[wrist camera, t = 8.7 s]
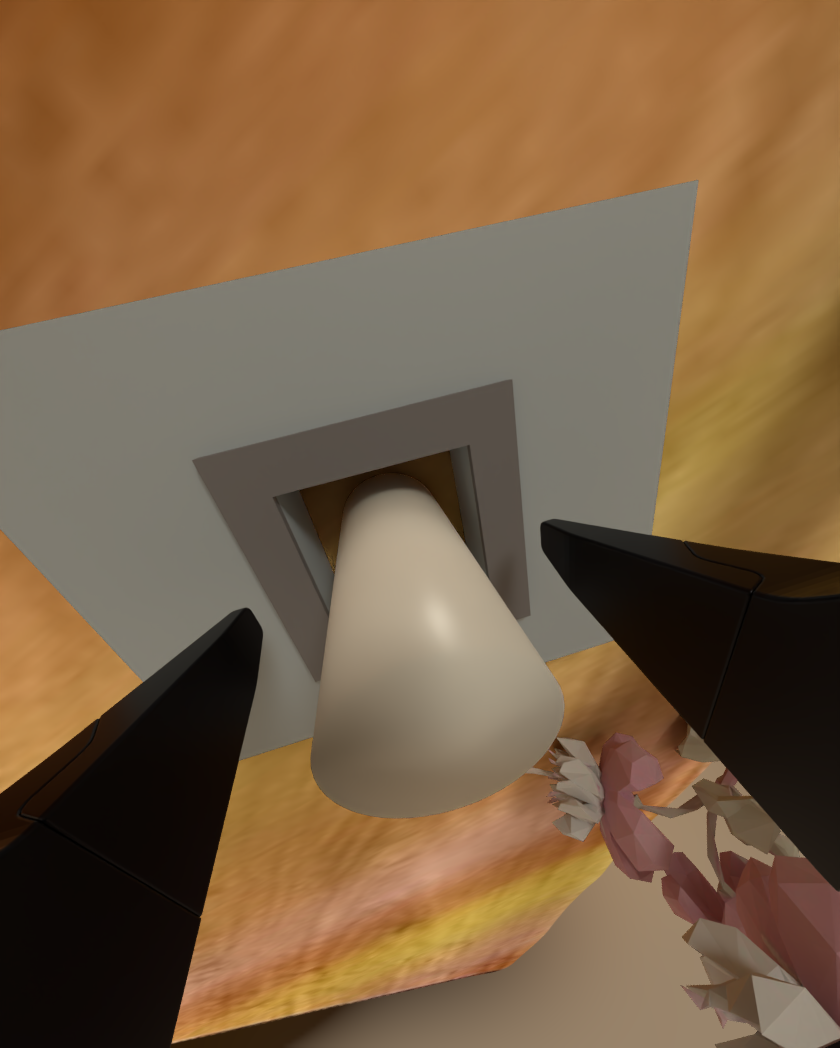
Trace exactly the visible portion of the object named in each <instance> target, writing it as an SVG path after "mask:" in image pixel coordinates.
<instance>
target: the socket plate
mask: <svg viewBox="0 0 840 1048" xmlns="http://www.w3.org/2000/svg"><path fill="white" fill-rule="evenodd" d="M697 188H698V180H696V181H691V182H686V183H682V184H677V185H672V186H668V187H663V188H658V189H654V190H649V191H645V192H640V193H635V194H631V195H626V196H621V197H617V198H612V199H607V200H603V201H598V202H594V203H589V204H584V205H580V206H575V207H570V208H566V209H561V210H557V211H552V212H547V213H543V214H538V215H533V216H529V217H524V218H519V219H515V220H510V221H506V222H501V223H496V224H492V225H487V226H482V227H478V228H473V229H468V230H464V231H459V232H455V233H450V234H445V235H441V236H436V237H431V238H427V239H422V240H417V241H413V242H408V243H404V244H399V245H394V246H390V247H385V248H380V249H376V250H371V251H366V252H362V253H357V254H353V255H348V256H343V257H339V258H334V259H329V260H325V261H320V262H316V263H311V264H306V265H302V266H297V267H292V268H288V269H283V270H278V271H274V272H269V273H265V274H260V275H255V276H251V277H246V278H241V279H237V280H232V281H227V282H223V283H218V284H214V285H209V286H204V287H200V288H195V289H190V290H186V291H181V292H176V293H172V294H167V295H163V296H158V297H153V298H149V299H144V300H139V301H135V302H130V303H125V304H121V305H116V306H112V307H107V308H102V309H98V310H93V311H88V312H84V313H79V314H75V315H70V316H65V317H61V318H56V319H51V320H47V321H42V322H37V323H33V324H28V325H24V326H19V327H14V328H10V329H5V330H0V529H1V530H2V531H3V532H4V533H5V535H6V536H7V537H8V538H9V539H10V540H11V541H12V542H13V543H14V544H15V545H16V546H17V547H18V548H19V550H20V551H21V552H22V553H23V554H24V555H25V556H26V557H27V558H28V559H29V560H30V561H31V562H32V563H33V565H34V566H35V567H36V568H37V569H38V570H39V571H40V572H41V573H42V574H43V575H44V576H45V577H46V578H47V580H48V581H49V582H50V583H51V584H52V585H53V586H54V587H55V588H56V589H57V590H58V591H59V592H60V593H61V595H62V596H63V597H64V598H65V599H66V600H67V601H68V602H69V603H70V604H71V605H72V606H73V607H74V608H75V609H76V611H77V612H78V613H79V614H80V615H81V616H82V617H83V618H84V619H85V620H86V621H87V622H88V623H89V624H90V626H91V627H92V628H93V629H94V630H95V631H96V632H97V633H98V634H99V635H100V636H101V637H102V638H103V639H104V641H105V642H106V643H107V644H108V645H109V646H110V647H111V648H112V649H113V650H114V651H115V652H116V653H117V654H118V656H119V657H120V658H121V659H122V660H123V661H124V662H125V663H126V664H127V665H128V666H129V667H130V668H131V669H132V671H133V672H134V673H135V674H136V675H137V676H138V677H139V678H140V679H141V680H142V681H143V682H144V681H145V680H147V679H148V678H149V677H150V676H152V675H153V674H154V673H155V672H157V671H158V670H159V669H160V668H162V667H163V666H164V665H165V664H167V663H168V662H169V661H170V660H172V659H173V658H174V657H175V656H177V655H178V654H179V653H180V652H182V651H183V650H184V649H186V648H187V647H188V646H189V645H191V644H192V643H193V642H194V641H196V640H197V639H198V638H199V637H201V636H202V635H203V634H204V633H206V632H207V631H208V630H209V629H211V628H212V627H213V626H214V625H216V624H217V623H218V622H219V621H221V620H222V619H223V618H224V617H226V616H227V615H228V614H229V613H231V612H232V611H234V610H238V609H241V608H245V607H247V608H249V609H251V611H252V612H253V614H254V615H255V617H256V619H257V620H258V622H259V624H260V625H261V627H262V630H263V642H262V650H261V657H260V665H259V673H258V680H257V686H256V691H255V695H254V699H253V704H252V708H251V712H250V716H249V720H248V724H247V729H246V733H245V737H244V741H243V745H242V750H241V754H240V758H239V761H240V760H243V759H246V758H249V757H252V756H255V755H258V754H261V753H265V752H268V751H271V750H274V749H277V748H280V747H283V746H286V745H289V744H293V743H296V742H299V741H302V740H305V739H308V738H311V737H313V734H314V727H315V719H316V712H317V704H318V697H319V689H320V682H321V674H322V666H323V659H324V651H325V644H326V636H327V629H328V621H329V613H330V606H331V598H332V591H333V583H334V576H335V575H334V573H333V570H332V568H331V565H330V563H329V561H328V558H327V556H326V553H325V551H324V549H323V546H322V544H321V542H320V539H319V537H318V534H317V532H316V530H315V527H314V525H313V522H312V520H311V518H310V515H309V513H308V510H307V508H306V506H305V503H304V501H303V499H302V496H301V494H300V491H299V490H301V489H305V488H309V487H312V486H316V485H320V484H324V483H328V482H331V481H335V480H339V479H343V478H346V477H350V476H354V475H358V474H361V473H365V472H369V471H373V470H377V469H380V468H384V467H388V466H392V465H395V464H399V463H403V462H407V461H410V460H414V459H418V458H422V457H425V456H429V455H433V454H437V453H441V452H444V451H448V450H450V456H451V462H452V467H453V473H454V479H455V484H456V490H457V496H458V501H459V507H460V513H461V518H462V524H463V530H464V535H465V541H466V546H467V548H468V549H469V550H470V552H471V553H472V555H473V556H474V558H475V559H476V561H477V562H478V564H479V565H480V567H481V568H482V570H483V571H484V573H485V574H486V576H487V577H488V579H489V580H490V582H491V583H492V585H493V586H494V588H495V589H496V591H497V592H498V594H499V595H500V597H501V598H502V600H503V601H504V603H505V604H506V606H507V607H508V609H509V610H510V612H511V613H512V615H513V616H514V618H515V619H516V621H517V622H518V624H519V625H520V627H521V628H522V630H523V631H524V633H525V634H526V636H527V637H528V639H529V640H530V641H531V643H532V644H533V646H534V647H535V649H536V650H537V652H538V653H539V655H540V656H541V658H542V659H543V661H544V662H548V661H551V660H554V659H557V658H560V657H564V656H567V655H570V654H573V653H576V652H579V651H582V650H585V649H588V648H592V647H595V646H598V645H601V644H604V643H607V642H610V641H613V640H614V639H613V638H612V637H611V636H610V635H609V634H608V633H607V631H606V630H605V629H604V628H603V627H602V626H601V625H600V624H599V622H598V621H597V620H596V619H595V618H594V617H593V616H592V614H591V613H590V612H589V611H588V610H587V609H586V608H585V607H584V605H583V604H582V603H581V602H580V601H579V600H578V599H577V597H576V596H575V595H574V594H573V593H572V592H571V590H570V589H569V588H568V587H567V585H566V584H565V582H564V581H563V580H562V578H561V577H560V575H559V574H558V572H557V571H556V570H555V568H554V567H553V565H552V564H551V562H550V561H549V560H548V558H547V557H546V555H545V554H544V552H543V550H542V548H541V536H540V525H541V523H542V522H543V521H547V520H550V519H560V520H566V521H572V522H578V523H583V524H589V525H595V526H601V527H607V528H613V529H618V530H624V531H630V532H636V533H642V534H647V535H652V528H653V520H654V513H655V505H656V498H657V490H658V483H659V475H660V467H661V460H662V452H663V445H664V437H665V430H666V422H667V415H668V407H669V399H670V392H671V384H672V377H673V369H674V362H675V354H676V347H677V339H678V331H679V324H680V316H681V309H682V301H683V294H684V286H685V279H686V271H687V263H688V256H689V248H690V241H691V233H692V226H693V218H694V211H695V203H696V195H697Z"/></svg>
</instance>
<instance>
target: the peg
mask: <svg viewBox="0 0 840 1048" xmlns="http://www.w3.org/2000/svg"><path fill="white" fill-rule="evenodd" d="M563 717H564V697H563V693H562V691H561V688H560V685H559V684H558V682H557V681H556V679H555V677H554V676H553V674H552V673H551V671H550V670H549V668H548V667H547V665H546V664H545V662H544V661H543V659H542V658H541V656H540V655H539V653H538V652H537V650H536V649H535V647H534V646H533V644H532V643H531V641H530V640H529V639H528V637H527V636H526V634H525V633H524V631H523V630H522V628H521V627H520V625H519V624H518V622H517V621H516V619H515V618H514V616H513V615H512V613H511V612H510V610H509V609H508V607H507V606H506V604H505V603H504V601H503V600H502V598H501V597H500V595H499V594H498V592H497V591H496V589H495V588H494V586H493V585H492V583H491V582H490V580H489V579H488V577H487V576H486V574H485V573H484V571H483V570H482V568H481V567H480V565H479V564H478V562H477V561H476V559H475V558H474V556H473V555H472V553H471V552H470V550H469V549H468V548H467V546H466V545H465V543H464V542H463V540H462V539H461V537H460V536H459V534H458V533H457V531H456V530H455V528H454V527H453V525H452V524H451V522H450V521H449V519H448V518H447V516H446V515H445V513H444V512H443V510H442V509H441V507H440V506H439V504H438V503H437V501H436V500H435V498H434V497H433V495H432V494H431V492H430V491H429V490H428V489H427V487H426V486H424V485H423V484H422V483H421V482H419V481H418V480H416V479H414V478H412V477H410V476H407V475H403V474H398V473H386V474H380V475H377V476H374V477H371V478H369V479H367V480H365V481H364V482H362V483H361V484H360V485H358V486H357V487H356V488H355V489H354V490H353V491H352V493H351V494H350V496H349V497H348V499H347V501H346V503H345V506H344V509H343V515H342V523H341V530H340V538H339V545H338V553H337V560H336V568H335V576H334V583H333V591H332V598H331V606H330V613H329V621H328V629H327V636H326V644H325V651H324V659H323V666H322V674H321V682H320V689H319V697H318V704H317V712H316V719H315V727H314V734H313V742H312V750H311V769H312V773H313V776H314V779H315V781H316V783H317V785H318V786H319V788H320V789H321V790H322V791H323V793H324V794H325V795H326V796H327V797H329V798H330V799H331V800H332V801H334V802H335V803H337V804H339V805H340V806H342V807H344V808H346V809H349V810H351V811H354V812H356V813H360V814H364V815H368V816H374V817H381V818H414V817H424V816H429V815H435V814H440V813H444V812H448V811H452V810H455V809H458V808H461V807H465V806H467V805H470V804H472V803H475V802H478V801H480V800H482V799H484V798H486V797H488V796H491V795H492V794H494V793H496V792H498V791H500V790H502V789H503V788H505V787H506V786H508V785H510V784H511V783H513V782H514V781H516V780H517V779H518V778H520V777H521V776H522V775H524V774H525V773H526V772H527V771H528V770H529V769H531V768H532V767H533V766H534V765H535V764H536V763H537V762H538V761H539V760H540V759H541V758H542V757H543V756H544V754H545V753H546V752H547V750H548V749H549V748H550V746H551V745H552V743H553V741H554V740H555V738H556V736H557V734H558V732H559V730H560V727H561V724H562V720H563Z"/></svg>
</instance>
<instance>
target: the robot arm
mask: <svg viewBox="0 0 840 1048" xmlns="http://www.w3.org/2000/svg"><path fill="white" fill-rule="evenodd" d="M540 536H541V548H542V550H543V552H544V554H545V555H546V557H547V558H548V560H549V561H550V562H551V564H552V565H553V567H554V568H555V570H556V571H557V572H558V574H559V575H560V577H561V578H562V580H563V581H564V582H565V584H566V585H567V587H568V588H569V589H570V590H571V592H572V593H573V594H574V595H575V596H576V597H577V599H578V600H579V601H580V602H581V603H582V604H583V605H584V607H585V608H586V609H587V610H588V611H589V612H590V613H591V614H592V616H593V617H594V618H595V619H596V620H597V621H598V622H599V624H600V625H601V626H602V627H603V628H604V629H605V630H606V631H607V633H608V634H609V635H610V636H611V637H612V638H613V639H614V641H615V642H616V643H617V644H618V645H619V646H620V647H621V648H622V650H623V651H624V652H625V653H626V654H627V655H628V656H629V658H630V659H631V660H632V661H633V662H634V663H635V664H636V665H637V667H638V668H639V669H640V670H641V671H642V672H643V673H644V675H645V676H646V677H647V678H648V679H649V680H650V681H651V682H652V684H653V685H654V686H655V687H656V688H657V689H658V690H659V692H660V693H661V694H662V695H663V696H664V697H665V698H666V699H667V701H668V702H669V703H670V704H671V705H672V706H673V707H674V709H675V710H676V711H677V712H678V713H679V714H680V715H681V716H682V718H683V719H684V720H685V721H686V722H687V723H688V724H689V726H690V727H691V728H692V729H693V730H694V731H695V732H696V733H697V735H698V736H699V737H700V738H701V739H703V740H704V743H705V744H706V745H707V746H708V747H709V749H710V750H711V751H712V752H713V753H714V754H715V755H716V757H717V758H718V759H719V760H720V761H721V762H722V763H723V764H724V766H725V767H726V768H727V769H728V770H729V771H730V772H731V774H732V775H733V776H734V777H735V778H736V779H737V780H738V781H739V783H740V784H741V785H742V786H743V787H744V788H745V789H746V790H747V792H748V793H749V794H750V795H751V796H752V797H753V798H754V800H755V801H756V802H757V803H758V804H759V805H760V806H761V808H762V809H763V810H764V811H765V812H766V813H767V814H768V815H769V817H770V818H771V819H772V820H773V821H774V822H775V823H776V825H777V826H778V827H779V828H780V829H781V830H782V831H783V832H784V833H785V835H786V836H787V837H788V838H789V839H790V840H791V841H792V843H793V844H794V845H795V846H796V847H797V848H798V849H799V851H800V852H801V853H802V854H803V855H804V856H805V857H806V858H807V860H808V861H809V862H810V863H811V864H812V865H813V866H814V868H815V869H816V870H817V871H818V872H819V873H820V874H821V875H822V876H823V878H824V879H825V880H826V881H827V882H828V883H829V884H830V885H831V886H832V887H833V888H834V889H835V890H836V891H838V892H840V563H837V562H829V561H821V560H814V559H806V558H798V557H791V556H783V555H775V554H768V553H760V552H753V551H746V550H738V549H731V548H725V547H719V546H712V545H706V544H700V543H694V542H688V541H684V542H682V541H681V540H676V539H671V538H665V537H659V536H653V535H647V534H642V533H636V532H630V531H624V530H618V529H613V528H607V527H601V526H595V525H589V524H583V523H578V522H572V521H566V520H560V519H550V520H547V521H543V522H542V523H541V525H540ZM262 642H263V630H262V627H261V625H260V624H259V622H258V620H257V619H256V617H255V615H254V614H253V612H252V611H251V609H249V608H247V607H245V608H241V609H238V610H234V611H232V612H231V613H229V614H228V615H227V616H226V617H224V618H223V619H222V620H221V621H219V622H218V623H217V624H216V625H214V626H213V627H212V628H211V629H209V630H208V631H207V632H206V633H204V634H203V635H202V636H201V637H199V638H198V639H197V640H196V641H194V642H193V643H192V644H191V645H189V646H188V647H187V648H186V649H184V650H183V651H182V652H180V653H179V654H178V655H177V656H175V657H174V658H173V659H172V660H170V661H169V662H168V663H167V664H165V665H164V666H163V667H162V668H160V669H159V670H158V671H157V672H155V673H154V674H153V675H152V676H150V677H149V678H148V679H147V680H145V681H144V682H143V683H142V684H140V685H139V686H138V687H137V688H135V689H134V690H133V691H132V692H130V693H129V694H128V695H127V696H125V697H124V698H123V699H122V700H120V701H119V702H118V703H116V704H115V705H114V706H113V707H111V708H110V709H109V710H108V711H106V712H105V713H104V714H103V715H102V716H101V717H100V719H96V720H95V721H94V722H93V723H91V724H90V725H89V726H88V727H86V728H85V729H84V730H83V731H81V732H80V733H79V734H77V735H76V736H75V737H74V738H72V739H71V740H70V741H69V742H67V743H66V744H65V745H63V746H62V747H61V748H60V749H58V750H57V751H56V752H54V753H53V754H52V755H51V756H49V757H48V758H47V759H45V760H44V761H43V762H42V763H40V764H39V765H38V766H36V767H35V768H34V769H32V770H31V771H30V772H28V773H27V774H26V775H24V776H23V777H22V778H20V779H19V780H18V781H16V782H15V783H14V784H12V785H11V786H10V787H9V788H7V789H6V790H5V791H3V792H2V793H0V1048H170V1047H171V1043H172V1038H173V1034H174V1030H175V1026H176V1022H177V1018H178V1013H179V1009H180V1005H181V1001H182V997H183V993H184V988H185V984H186V980H187V976H188V972H189V968H190V963H191V959H192V955H193V951H194V947H195V943H196V938H197V934H198V930H199V926H200V922H201V918H200V916H201V915H202V912H203V908H204V904H205V900H206V896H207V891H208V887H209V883H210V879H211V875H212V871H213V866H214V862H215V858H216V854H217V850H218V845H219V841H220V837H221V833H222V829H223V825H224V820H225V816H226V812H227V808H228V804H229V800H230V795H231V791H232V787H233V783H234V779H235V775H236V770H237V766H238V762H239V758H240V754H241V750H242V745H243V741H244V737H245V733H246V729H247V724H248V720H249V716H250V712H251V708H252V704H253V699H254V695H255V691H256V686H257V680H258V673H259V665H260V657H261V650H262ZM818 1048H840V1038H839V1039H837V1040H834V1041H832V1042H830V1043H827V1044H825V1045H823V1046H821V1047H818Z"/></svg>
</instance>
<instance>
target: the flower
mask: <svg viewBox="0 0 840 1048" xmlns="http://www.w3.org/2000/svg"><path fill="white" fill-rule="evenodd" d="M557 739H558V741H559V742H560V743H561V745H562V746H563V747H564V749H565V750H566V751H567V752H565V751H562V750H560V749H557V748H554V749H555V751H556V753H557V754H556V753H553V752H552V751H550V750H549V749H548V750H549V751H550V753H551V754H552V755H553V756H554V757H555V758H556V759H557V761H556V762H555V761H553V760H552V759H550V758H549V760H550V762H551V763H552V764H555V765H557V766H558V767H554V768H551V769H552V770H553V771H554V772H555V773H554V772H550V771H545V770H541V769H537V768H533V767H532V768H531V769H529V770H528V771H527V772H526V773H535V774H539V775H544V776H548V778H550V779H553V780H557V781H561V782H557V784H550V786H551V787H552V789H553V792H550V793H549V794H548V796H547V797H553V796H556V797H557V798H552V799H551V800H549V801H548V802H547V803H553V802H556V801H559V802H557V803H554V804H552V805H554V806H556V807H558V810H560V811H563V812H566V814H565V815H564V816H563V817H561V818H559V819H557V820H555V821H553V822H552V823H553V824H554V825H555V826H556V827H557V828H558V829H559V830H560V832H561V833H562V834H564V835H567V836H569V837H572V838H575V839H578V840H580V841H584V840H585V838H586V837H587V835H588V834H589V832H590V831H591V829H592V828H593V826H594V825H595V824H596V823H597V824H598V823H599V821H600V831H601V833H602V835H603V838H604V840H605V842H606V845H607V847H608V849H609V852H610V854H611V856H612V859H613V861H614V863H615V865H616V866H617V867H618V868H619V869H620V870H621V871H622V872H624V873H625V874H626V875H627V876H628V877H629V878H630V879H635V880H641V881H646V882H652V877H653V873H654V871H656V870H664V871H665V873H666V875H667V876H665V877H663V878H662V879H661V880H662V891H663V896H664V898H665V899H666V901H667V903H668V904H669V906H670V907H671V909H672V911H673V912H674V914H675V915H677V916H679V917H681V918H682V919H684V920H686V921H688V922H690V923H692V924H693V926H692V927H691V928H690V929H689V930H688V931H687V932H686V933H685V934H684V935H683V936H682V938H683V939H684V941H686V943H687V944H688V945H690V946H691V947H692V948H694V949H695V950H697V951H698V952H699V953H701V954H702V956H701V957H700V959H701V961H702V964H703V966H704V968H705V971H706V973H707V975H708V978H709V980H710V983H711V985H693V986H692V985H691V986H687V987H688V988H689V989H687V988H685V987H683V986H682V988H683V989H684V990H685V991H686V993H687V994H688V995H689V996H690V998H691V999H692V1000H693V1002H694V1003H695V1004H696V1005H697V1007H698V1008H699V1009H700V1010H702V1009H706V1008H709V1007H712V1008H713V1009H715V1011H716V1014H717V1016H718V1018H719V1021H720V1023H721V1025H722V1028H724V1026H725V1024H726V1022H727V1020H730V1021H737V1022H743V1023H748V1024H750V1025H751V1026H752V1027H754V1028H755V1029H756V1030H758V1031H757V1032H756V1033H755V1034H754V1035H750V1036H746V1037H742V1038H738V1039H735V1040H730V1041H727V1042H723V1043H719V1044H715V1046H716V1047H717V1048H818V1047H821V1046H823V1045H825V1044H827V1043H830V1042H832V1041H834V1040H837V1039H839V1038H840V892H838V891H836V890H835V889H834V888H833V887H832V886H831V885H830V884H829V883H828V882H827V881H826V880H825V879H824V878H823V876H822V875H821V874H820V873H819V872H818V871H817V870H816V869H815V868H814V866H813V865H812V864H811V863H810V862H809V861H808V860H807V858H800V856H799V849H798V848H797V847H796V846H795V845H794V844H793V843H792V841H791V840H790V839H789V838H788V837H786V836H784V835H781V834H779V833H780V832H781V831H780V828H779V827H778V826H777V825H776V823H775V822H774V821H773V820H772V819H771V818H770V817H769V815H768V814H767V813H766V812H765V811H764V810H763V809H762V808H761V806H760V805H759V804H758V803H757V802H756V801H755V800H754V798H753V797H752V796H742V794H741V793H740V792H739V791H738V790H737V789H736V788H735V787H734V786H733V785H735V784H736V782H737V781H738V780H737V779H736V778H735V777H734V776H733V775H732V774H731V772H730V771H729V770H728V769H727V768H726V770H725V772H724V774H723V775H722V776H720V777H719V778H717V779H716V782H715V783H714V782H711V781H709V780H706V779H702V780H701V781H699V782H697V783H696V784H694V785H693V786H692V787H693V789H694V790H695V792H696V793H697V795H696V796H695V797H693V798H692V799H690V800H689V801H687V802H686V803H685V804H683V805H682V806H680V807H679V808H667V807H656V806H644V805H643V804H642V803H641V801H640V799H639V797H638V795H637V794H636V795H633V793H632V791H641V790H643V789H645V788H648V787H650V786H652V785H654V784H656V783H658V782H659V781H660V780H662V779H663V778H664V777H663V774H662V772H661V769H660V766H659V763H658V760H657V758H655V757H654V756H653V755H651V754H650V753H648V752H647V751H646V750H644V749H643V748H642V747H640V746H639V745H638V744H637V742H636V741H635V739H634V738H633V737H632V736H629V735H624V734H620V733H615V734H614V735H613V736H612V737H611V738H610V739H609V740H608V741H607V742H606V743H605V744H604V745H603V747H602V753H601V758H600V764H599V767H598V765H597V763H596V761H595V760H594V758H593V756H592V754H591V753H590V751H589V749H588V747H587V745H586V744H585V742H584V741H580V740H575V739H571V738H557ZM678 749H679V750H675V751H676V752H677V753H678V754H679V755H680V756H681V757H684V758H688V759H691V760H695V761H699V762H714V761H720V760H719V759H718V758H717V757H716V755H715V754H714V753H713V752H712V751H711V750H710V749H709V747H708V746H707V745H706V744H705V743H704V740H703V739H701V738H700V737H699V736H698V735H697V733H696V732H695V731H694V730H693V729H692V728H691V727H690V726H689V724H688V728H687V737H686V738H685V739H684V740H683V741H682V742H681V743H680V744H679V746H678ZM559 766H560V767H559ZM558 778H559V779H558ZM703 805H704V806H705V807H706V809H707V810H708V812H707V854H708V858H709V860H710V862H711V864H712V866H713V868H714V871H715V873H716V875H717V877H718V879H719V884H718V888H717V892H716V891H715V889H714V888H713V887H712V886H711V885H710V883H709V882H708V881H707V880H706V878H705V877H704V876H703V875H702V874H701V872H700V871H699V870H698V869H697V868H696V866H695V865H694V864H693V863H692V862H691V861H690V860H689V859H688V858H687V857H686V855H685V854H684V853H683V852H674V853H673V849H674V845H673V844H672V843H671V842H670V841H669V840H668V839H667V838H666V837H665V836H664V835H663V834H662V833H661V831H660V830H659V829H658V828H657V827H656V826H655V825H654V824H653V823H652V822H651V821H650V820H649V819H648V818H647V817H646V816H645V814H644V813H643V812H642V811H640V810H639V809H643V810H646V811H650V812H653V813H656V814H659V815H662V816H665V817H668V818H673V817H677V816H679V815H683V814H686V813H689V812H692V811H695V810H698V809H699V808H701V807H702V806H703ZM717 815H720V816H722V817H724V819H725V821H726V824H727V825H728V828H729V830H730V832H731V834H732V835H734V836H735V837H736V838H737V839H739V840H740V841H742V842H743V843H744V844H746V845H751V846H753V847H755V848H757V849H759V850H760V851H762V852H764V853H765V854H768V852H769V853H771V854H772V855H774V856H775V858H774V861H773V866H772V867H770V866H768V865H766V864H764V863H762V862H760V861H758V860H756V859H754V858H752V857H750V859H749V860H747V859H745V858H743V857H741V856H739V855H737V854H735V853H734V852H732V851H727V852H722V853H720V861H719V857H718V852H717V848H716V844H715V840H714V837H715V828H716V820H717ZM672 853H673V854H672Z"/></svg>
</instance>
